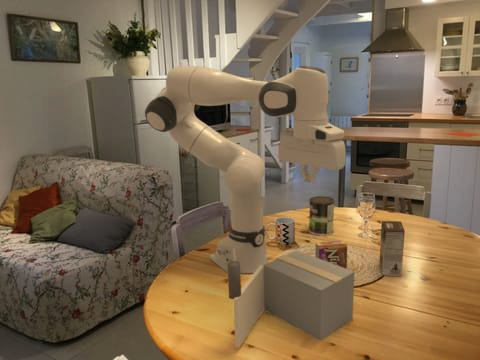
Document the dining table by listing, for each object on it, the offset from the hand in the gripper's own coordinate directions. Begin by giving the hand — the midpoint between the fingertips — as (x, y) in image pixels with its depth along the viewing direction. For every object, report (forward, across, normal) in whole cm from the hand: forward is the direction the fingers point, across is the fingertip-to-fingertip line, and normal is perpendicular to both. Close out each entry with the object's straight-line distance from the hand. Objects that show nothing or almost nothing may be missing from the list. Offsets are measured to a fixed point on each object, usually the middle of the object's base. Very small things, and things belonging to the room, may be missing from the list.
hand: (309, 181), depth 113 cm
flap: (+36, -4, -20) cm, 42 cm away
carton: (+37, +3, -4) cm, 37 cm away
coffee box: (+37, +5, +37) cm, 53 cm away
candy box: (+37, -1, +12) cm, 39 cm away
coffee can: (+37, -34, +50) cm, 71 cm away
